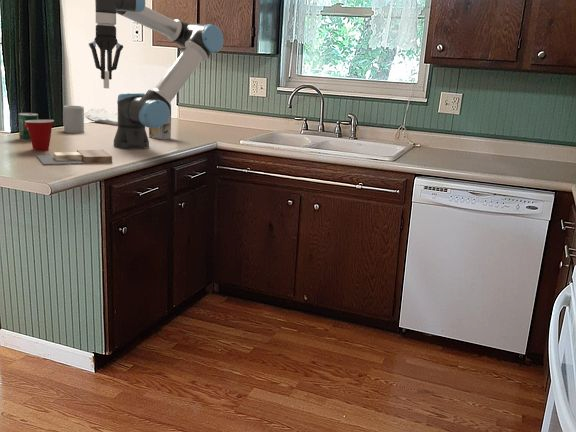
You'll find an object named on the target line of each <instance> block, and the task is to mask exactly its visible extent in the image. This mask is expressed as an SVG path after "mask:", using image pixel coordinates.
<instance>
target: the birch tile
mask: <svg viewBox="0 0 576 432" xmlns="http://www.w3.org/2000/svg"><path fill="white" fill-rule="evenodd" d="M53 155H54V158H55V160H56V161H69V160H82V155H81V154H80V153H79V152H77V151H64V152H61V151H59V152H58V151H57V152H53Z"/></svg>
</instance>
